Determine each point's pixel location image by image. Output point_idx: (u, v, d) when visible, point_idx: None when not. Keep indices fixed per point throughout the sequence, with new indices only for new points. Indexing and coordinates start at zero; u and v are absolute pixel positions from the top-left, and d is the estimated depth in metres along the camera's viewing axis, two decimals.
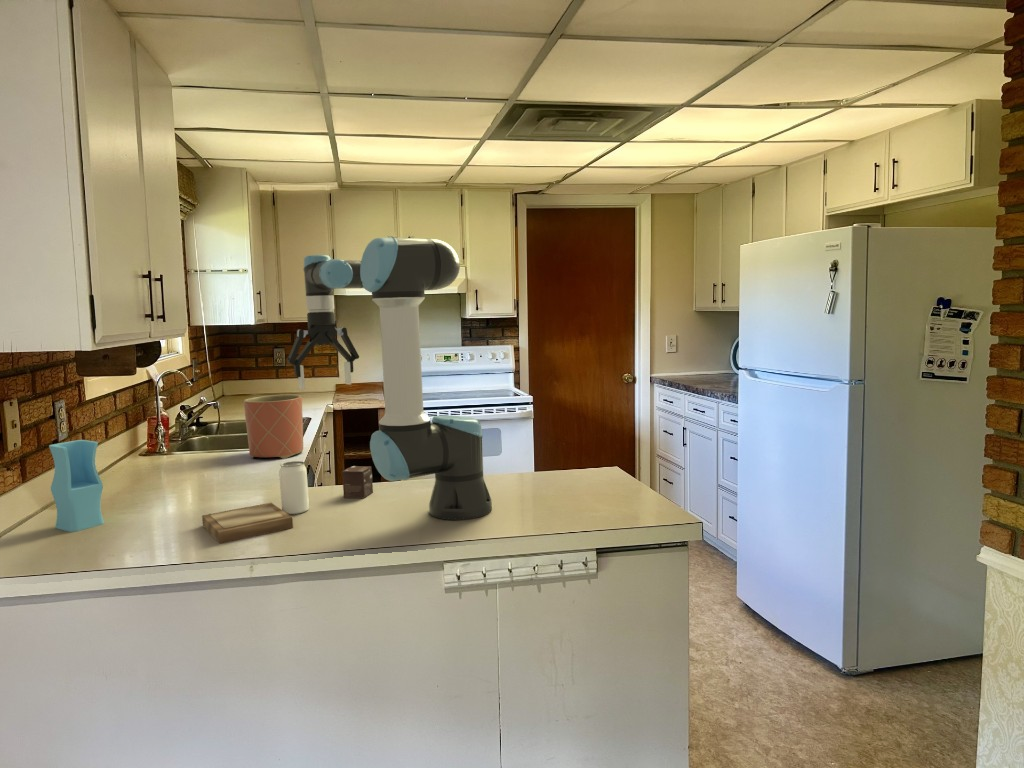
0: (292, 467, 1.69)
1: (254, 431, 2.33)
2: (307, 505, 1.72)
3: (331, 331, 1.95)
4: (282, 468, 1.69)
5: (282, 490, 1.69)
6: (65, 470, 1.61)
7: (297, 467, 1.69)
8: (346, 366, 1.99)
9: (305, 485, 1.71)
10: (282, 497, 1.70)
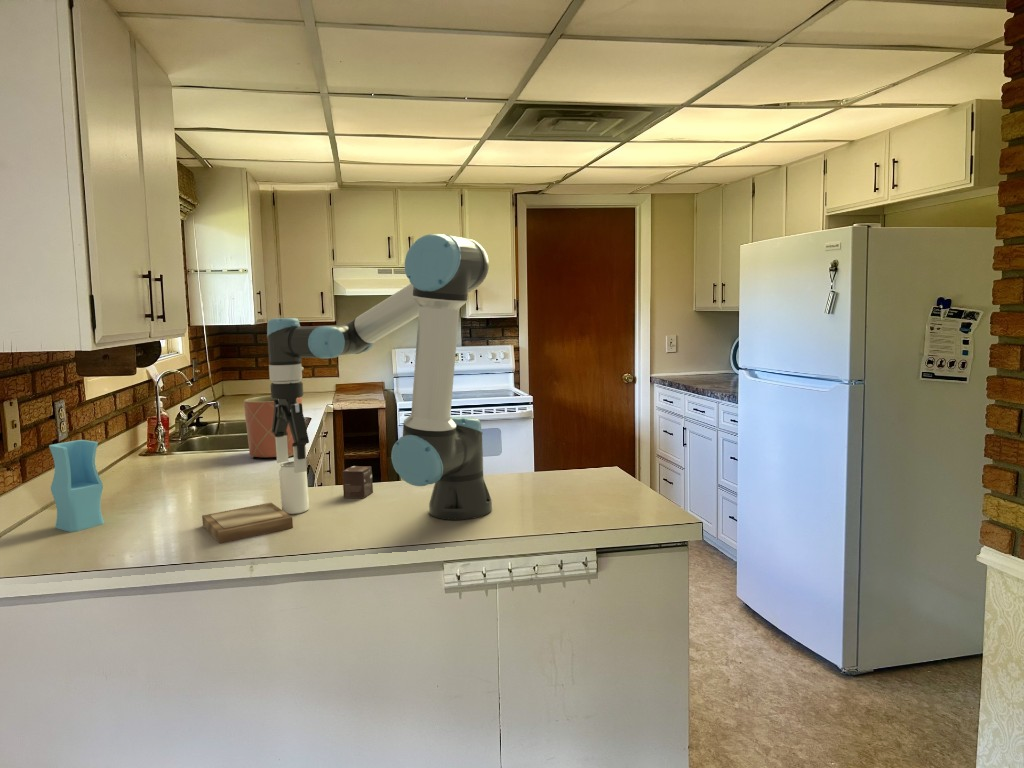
0: (292, 467, 1.69)
1: (254, 431, 2.33)
2: (307, 505, 1.72)
3: (286, 406, 1.67)
4: (282, 468, 1.69)
5: (282, 490, 1.69)
6: (65, 470, 1.61)
7: None
8: None
9: (305, 485, 1.71)
10: (282, 497, 1.70)
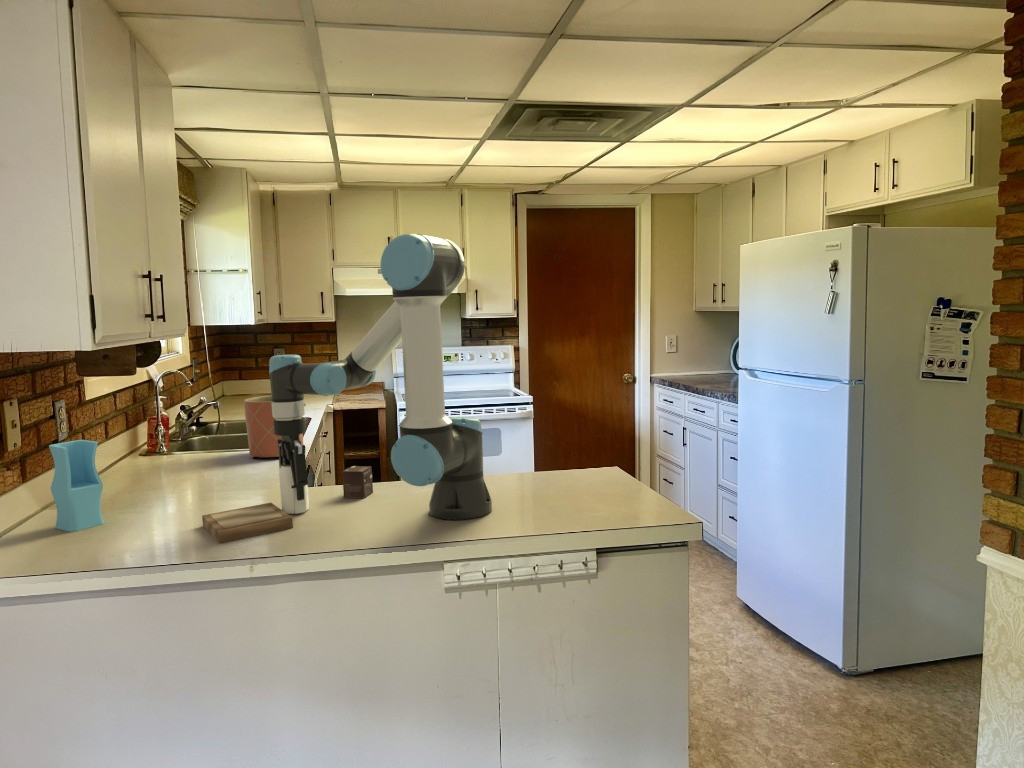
0: None
1: (254, 430, 2.33)
2: (307, 505, 1.72)
3: (289, 441, 1.68)
4: (282, 468, 1.69)
5: (282, 490, 1.69)
6: (65, 470, 1.61)
7: None
8: None
9: (305, 485, 1.71)
10: (282, 497, 1.70)
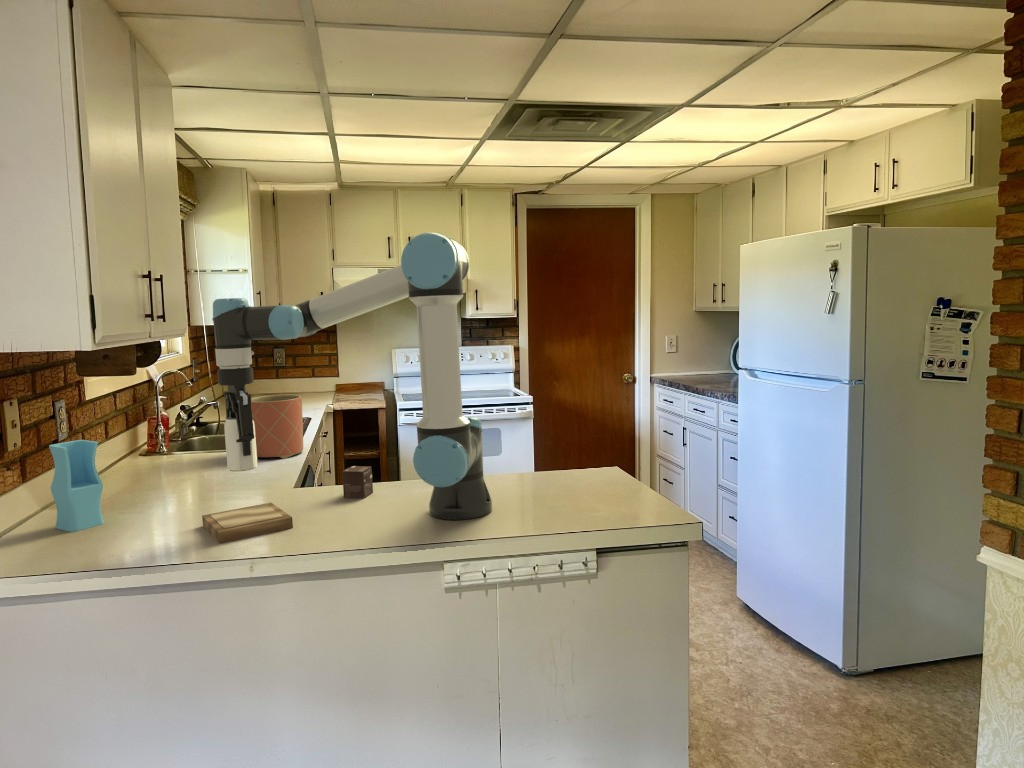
0: None
1: None
2: (255, 462, 1.59)
3: (234, 392, 1.55)
4: (227, 421, 1.56)
5: (227, 445, 1.56)
6: (65, 470, 1.61)
7: None
8: None
9: (252, 440, 1.58)
10: (227, 453, 1.57)
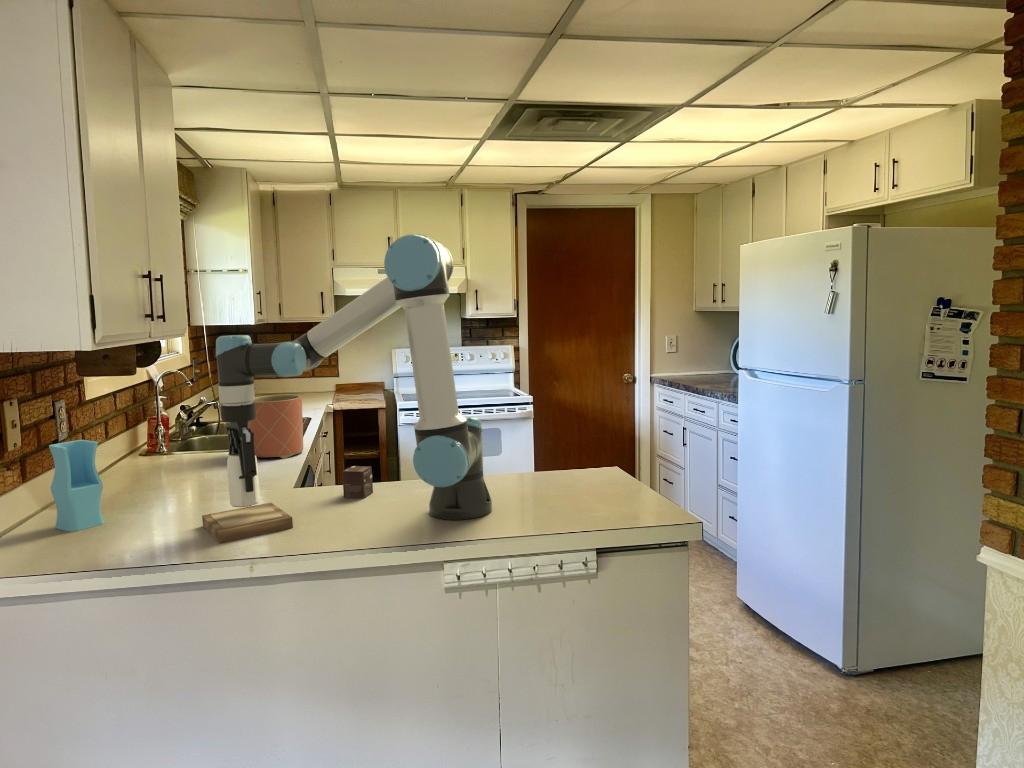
0: None
1: (254, 431, 2.33)
2: (257, 497, 1.60)
3: (237, 428, 1.56)
4: (230, 457, 1.57)
5: (230, 481, 1.57)
6: (65, 470, 1.61)
7: None
8: None
9: (255, 476, 1.59)
10: (230, 488, 1.58)
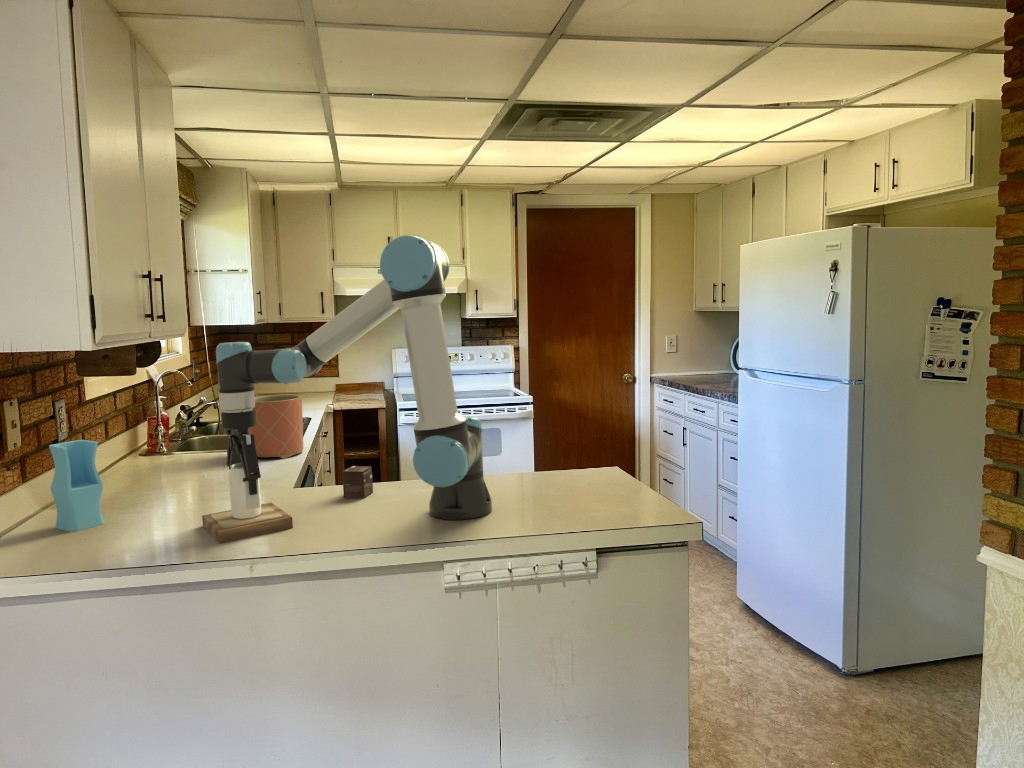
0: (242, 469, 1.56)
1: (254, 431, 2.33)
2: (259, 509, 1.60)
3: (237, 436, 1.56)
4: (232, 470, 1.57)
5: (231, 493, 1.57)
6: (65, 470, 1.61)
7: None
8: None
9: None
10: (231, 501, 1.58)
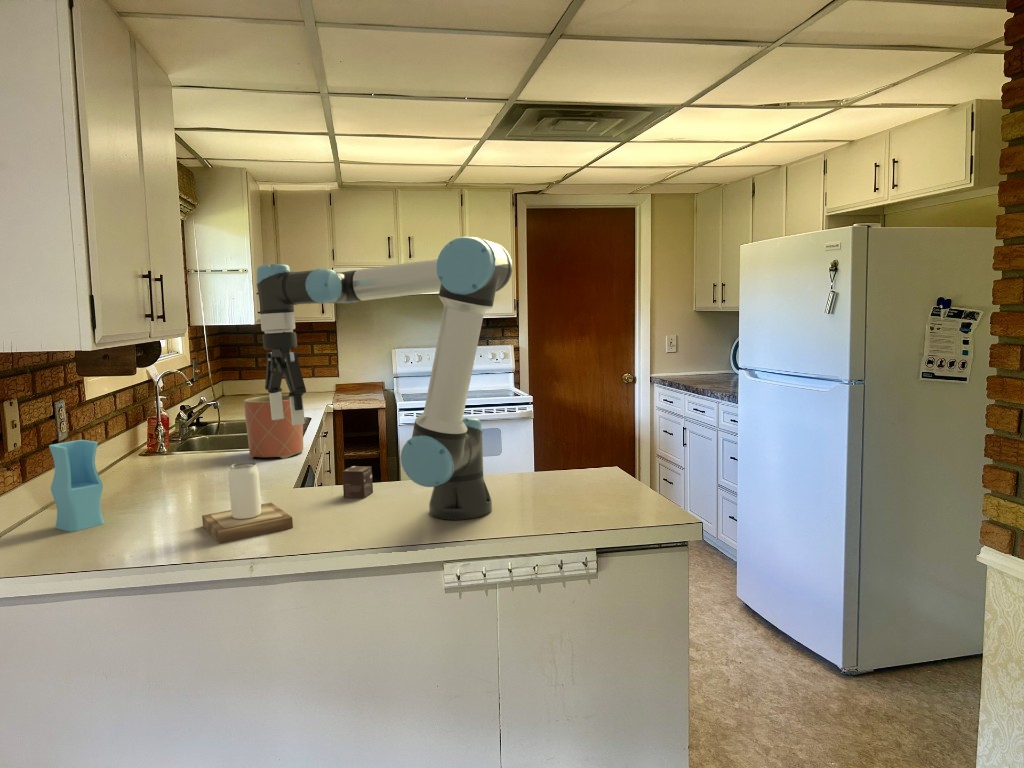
0: (242, 469, 1.57)
1: (254, 431, 2.33)
2: (259, 509, 1.60)
3: (280, 356, 1.59)
4: (231, 470, 1.57)
5: (231, 493, 1.57)
6: (65, 470, 1.61)
7: (247, 468, 1.57)
8: None
9: (256, 488, 1.59)
10: (231, 501, 1.58)
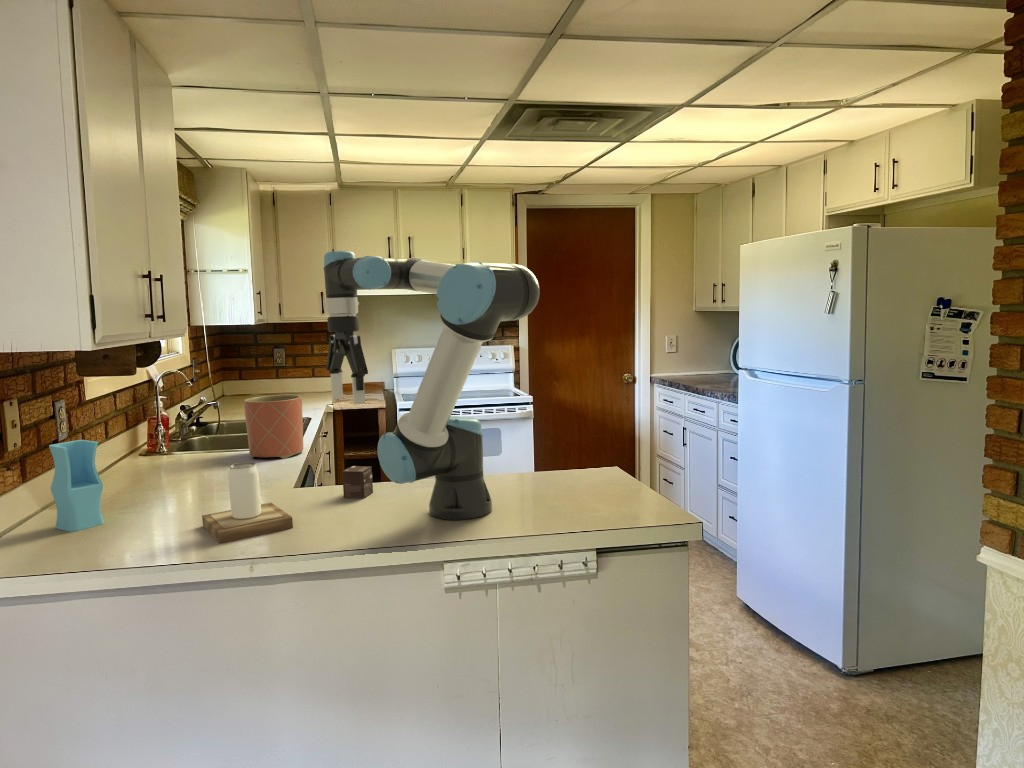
0: (241, 469, 1.57)
1: (254, 431, 2.33)
2: (259, 509, 1.60)
3: (343, 339, 1.68)
4: (231, 470, 1.57)
5: (231, 493, 1.57)
6: (65, 470, 1.61)
7: (247, 469, 1.57)
8: None
9: (256, 488, 1.59)
10: (231, 501, 1.58)
